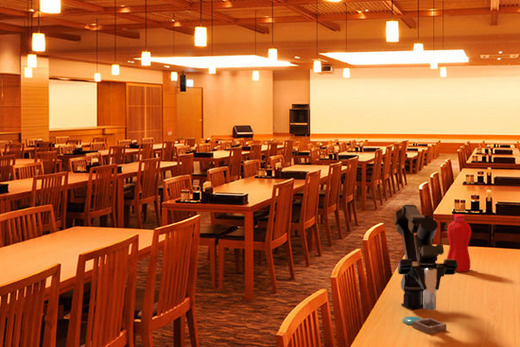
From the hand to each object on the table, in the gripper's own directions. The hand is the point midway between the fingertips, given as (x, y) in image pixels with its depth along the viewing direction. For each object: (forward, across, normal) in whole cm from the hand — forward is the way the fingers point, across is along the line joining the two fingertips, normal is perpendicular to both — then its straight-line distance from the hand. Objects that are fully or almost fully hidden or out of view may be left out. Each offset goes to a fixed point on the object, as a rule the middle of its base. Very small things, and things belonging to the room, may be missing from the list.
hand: (431, 289), depth 208 cm
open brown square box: (+9, 0, +10) cm, 13 cm away
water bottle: (-48, +30, +67) cm, 88 cm away
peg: (+4, 0, +6) cm, 7 cm away
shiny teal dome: (+4, -4, +15) cm, 16 cm away
